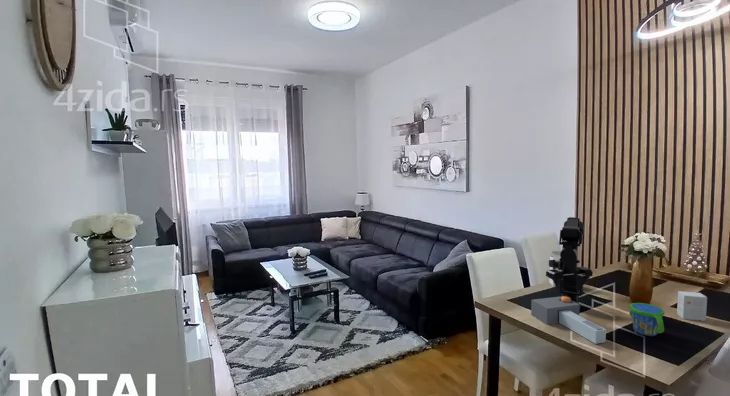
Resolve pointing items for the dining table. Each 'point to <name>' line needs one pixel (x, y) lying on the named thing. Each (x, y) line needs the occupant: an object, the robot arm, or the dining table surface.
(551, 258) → the milk carton
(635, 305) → the snack cup
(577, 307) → the block
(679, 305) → the small box
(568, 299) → the plunger
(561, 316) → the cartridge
